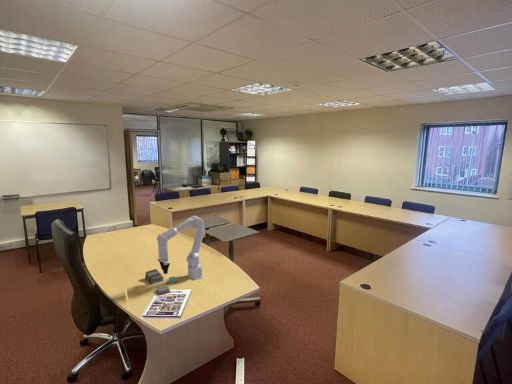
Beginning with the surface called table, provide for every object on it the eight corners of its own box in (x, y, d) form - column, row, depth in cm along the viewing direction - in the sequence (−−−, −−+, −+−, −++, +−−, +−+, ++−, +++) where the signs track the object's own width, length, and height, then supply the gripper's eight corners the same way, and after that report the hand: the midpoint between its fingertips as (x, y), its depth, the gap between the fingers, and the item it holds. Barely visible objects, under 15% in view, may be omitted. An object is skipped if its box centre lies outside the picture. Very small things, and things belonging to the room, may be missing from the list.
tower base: (168, 289, 177) (168, 287, 177) (171, 295, 170) (171, 292, 170) (155, 292, 174) (155, 290, 173) (158, 298, 167) (157, 295, 166)
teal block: (175, 281, 187) (174, 276, 187) (176, 284, 184) (176, 278, 183) (169, 283, 185) (168, 277, 185) (170, 285, 182) (170, 280, 181)
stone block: (150, 286, 181) (149, 279, 180) (143, 279, 192) (143, 272, 191) (163, 282, 186) (163, 275, 185) (156, 275, 197) (156, 268, 196)
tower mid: (167, 287, 176) (167, 285, 176) (169, 292, 171) (169, 289, 170) (157, 290, 173) (157, 287, 173) (159, 294, 168) (159, 291, 167)
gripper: (155, 249, 184) (156, 268, 186) (158, 256, 171) (160, 277, 173) (165, 247, 187) (167, 266, 189) (170, 254, 175) (171, 274, 177)
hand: (164, 271), depth 181 cm, fingers open, 7 cm apart
